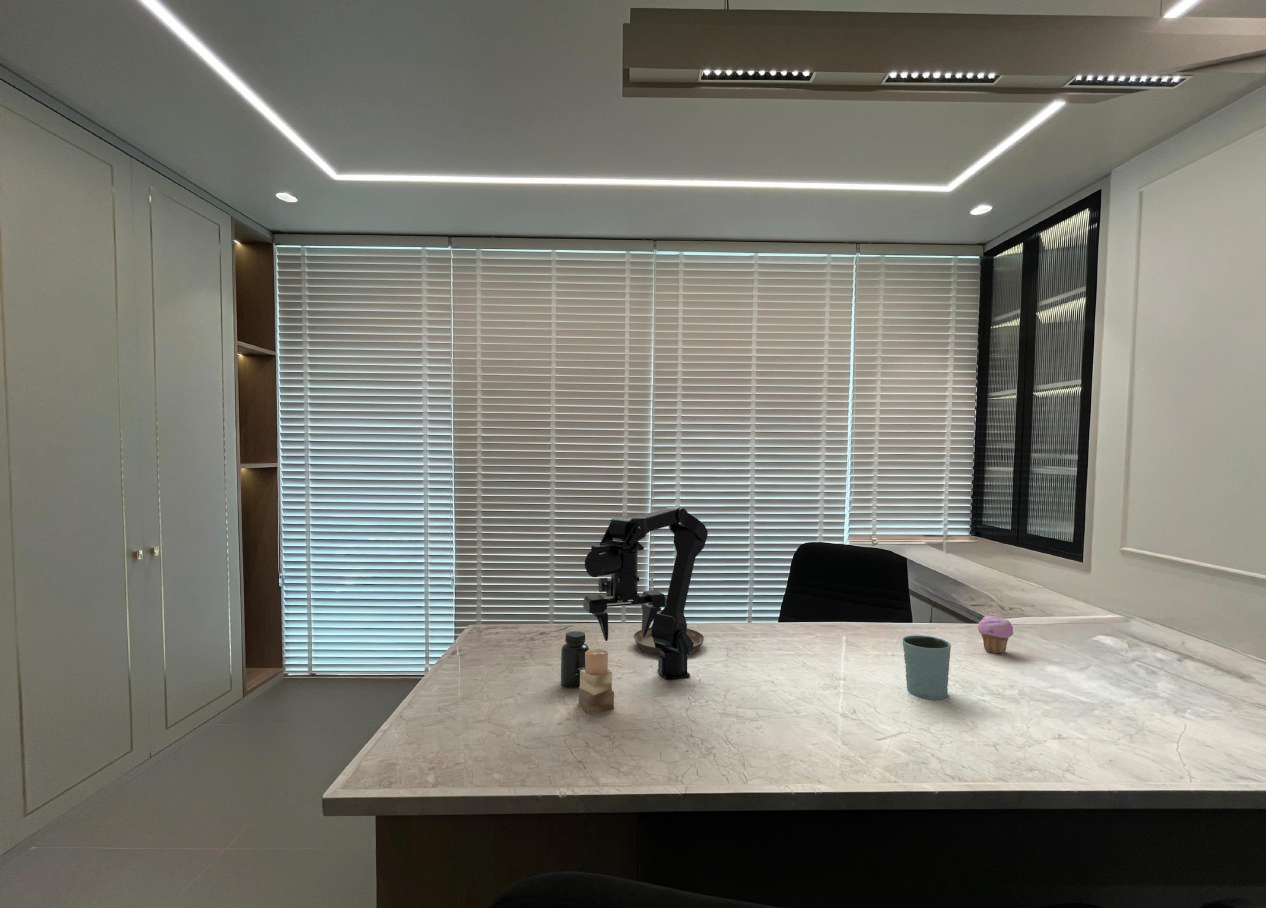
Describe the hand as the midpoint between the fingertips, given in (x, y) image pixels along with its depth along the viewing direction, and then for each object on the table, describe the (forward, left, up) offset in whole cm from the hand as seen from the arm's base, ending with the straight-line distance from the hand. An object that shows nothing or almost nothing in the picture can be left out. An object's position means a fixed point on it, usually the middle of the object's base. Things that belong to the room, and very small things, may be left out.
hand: (625, 638), depth 137 cm
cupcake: (-110, +7, -13) cm, 111 cm away
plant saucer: (-24, -29, -14) cm, 40 cm away
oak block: (+8, +4, -9) cm, 13 cm away
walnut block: (+8, +4, -13) cm, 16 cm away
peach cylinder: (+8, +4, -5) cm, 10 cm away
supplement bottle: (+9, -11, -13) cm, 19 cm away
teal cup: (-67, +23, -13) cm, 72 cm away
